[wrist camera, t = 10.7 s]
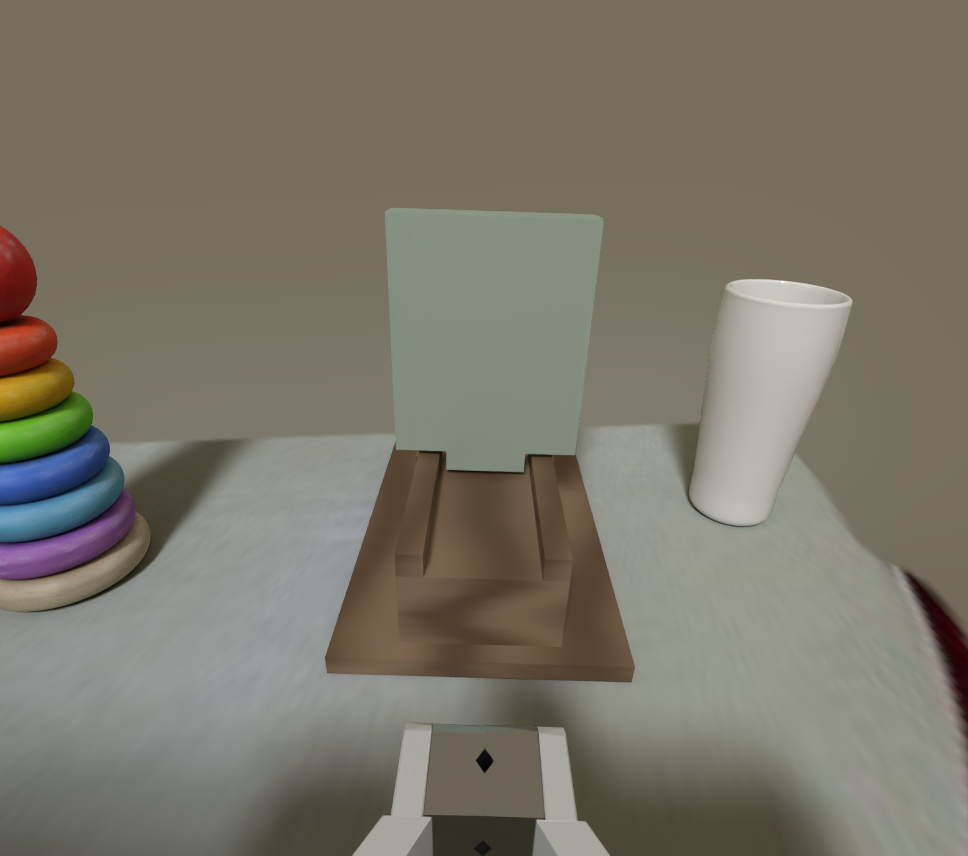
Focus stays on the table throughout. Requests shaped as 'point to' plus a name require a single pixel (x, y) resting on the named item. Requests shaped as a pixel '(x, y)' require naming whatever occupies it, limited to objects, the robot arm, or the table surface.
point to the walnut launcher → (481, 578)
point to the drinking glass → (762, 392)
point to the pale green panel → (490, 331)
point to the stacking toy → (53, 466)
